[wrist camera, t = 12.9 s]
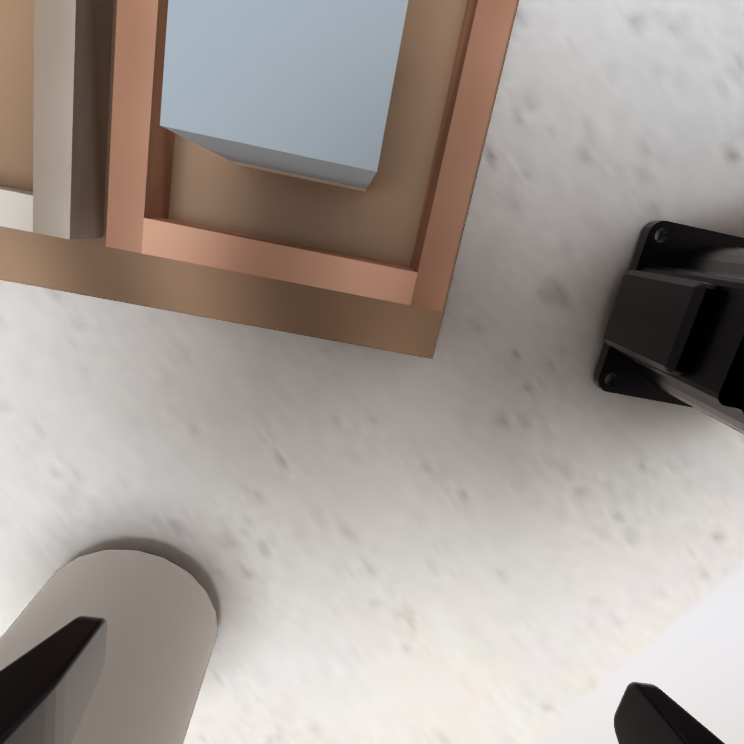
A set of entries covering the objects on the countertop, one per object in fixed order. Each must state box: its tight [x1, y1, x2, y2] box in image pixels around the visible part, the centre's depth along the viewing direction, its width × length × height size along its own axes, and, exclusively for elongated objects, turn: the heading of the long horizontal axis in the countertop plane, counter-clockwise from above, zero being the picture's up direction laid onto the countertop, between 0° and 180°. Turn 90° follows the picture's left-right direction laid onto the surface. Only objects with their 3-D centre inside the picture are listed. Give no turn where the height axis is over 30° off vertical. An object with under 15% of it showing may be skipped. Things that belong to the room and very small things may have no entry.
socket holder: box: [0, 0, 519, 359], centre depth 15 cm, size 22×14×4 cm, turn 79°
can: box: [0, 550, 217, 744], centre depth 16 cm, size 8×8×12 cm
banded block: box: [160, 0, 408, 192], centre depth 12 cm, size 4×4×7 cm
